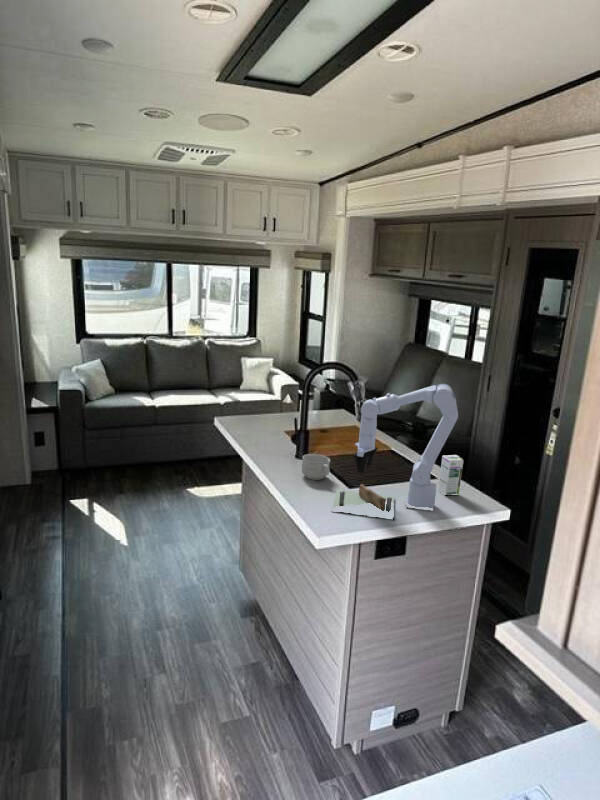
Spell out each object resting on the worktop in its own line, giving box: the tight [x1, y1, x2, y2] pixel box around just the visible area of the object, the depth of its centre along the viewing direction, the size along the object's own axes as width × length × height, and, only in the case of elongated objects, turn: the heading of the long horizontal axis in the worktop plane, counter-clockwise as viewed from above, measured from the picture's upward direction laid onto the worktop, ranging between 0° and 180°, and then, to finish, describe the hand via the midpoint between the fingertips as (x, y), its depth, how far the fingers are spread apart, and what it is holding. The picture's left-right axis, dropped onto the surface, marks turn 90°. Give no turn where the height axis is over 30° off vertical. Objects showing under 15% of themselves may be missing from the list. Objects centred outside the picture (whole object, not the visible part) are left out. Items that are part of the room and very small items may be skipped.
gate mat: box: [332, 488, 396, 508], centre depth 194 cm, size 21×18×1 cm
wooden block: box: [358, 484, 386, 511], centre depth 194 cm, size 14×1×4 cm, turn 30°
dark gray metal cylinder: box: [339, 491, 392, 512], centre depth 189 cm, size 18×2×6 cm, turn 80°
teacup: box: [301, 453, 331, 481], centre depth 213 cm, size 14×11×8 cm
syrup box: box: [437, 454, 464, 495], centre depth 208 cm, size 6×6×14 cm
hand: (364, 469), depth 199 cm, fingers open, 7 cm apart
